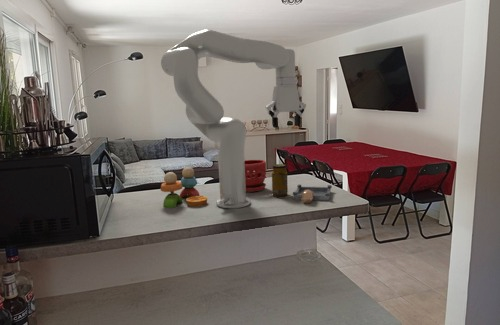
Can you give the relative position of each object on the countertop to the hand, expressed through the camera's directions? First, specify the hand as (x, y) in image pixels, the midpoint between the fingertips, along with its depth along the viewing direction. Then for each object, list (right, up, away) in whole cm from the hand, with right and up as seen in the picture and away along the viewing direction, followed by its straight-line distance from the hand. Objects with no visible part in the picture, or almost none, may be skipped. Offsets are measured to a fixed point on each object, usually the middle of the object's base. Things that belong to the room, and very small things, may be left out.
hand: (286, 126), depth 152 cm
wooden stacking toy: (-38, -29, -3) cm, 48 cm away
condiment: (-2, -27, -1) cm, 27 cm away
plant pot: (-14, -26, +11) cm, 31 cm away
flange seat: (+9, -27, -5) cm, 29 cm away
